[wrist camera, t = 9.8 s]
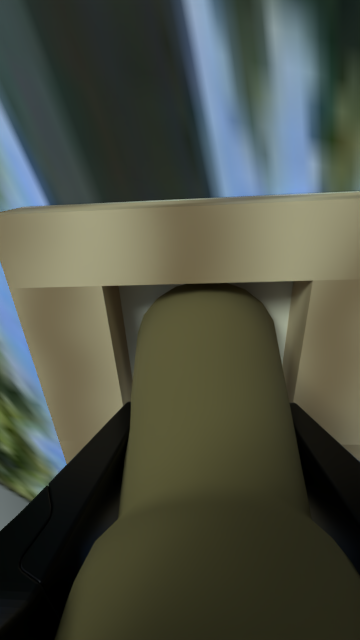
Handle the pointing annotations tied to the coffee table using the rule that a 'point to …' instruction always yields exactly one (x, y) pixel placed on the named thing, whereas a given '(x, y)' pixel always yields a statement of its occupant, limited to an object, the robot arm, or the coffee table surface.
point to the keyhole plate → (178, 269)
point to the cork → (212, 494)
